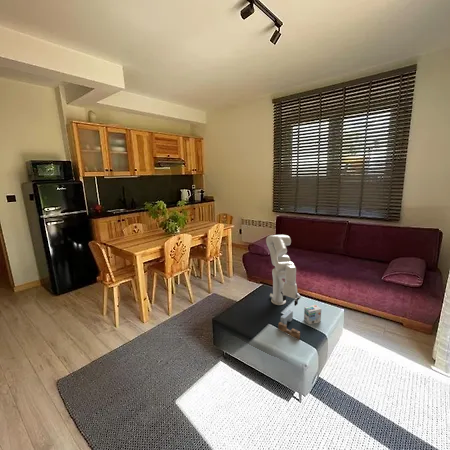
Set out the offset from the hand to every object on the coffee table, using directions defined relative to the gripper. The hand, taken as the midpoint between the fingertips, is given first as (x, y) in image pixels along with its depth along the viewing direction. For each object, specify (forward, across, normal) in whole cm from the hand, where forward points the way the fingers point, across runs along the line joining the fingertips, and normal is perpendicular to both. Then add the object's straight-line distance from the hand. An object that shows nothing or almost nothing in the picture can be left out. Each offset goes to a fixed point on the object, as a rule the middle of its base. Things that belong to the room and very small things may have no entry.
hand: (290, 302), depth 179 cm
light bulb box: (+15, +12, +11) cm, 23 cm away
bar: (+15, 0, -4) cm, 15 cm away
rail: (+15, +8, -14) cm, 22 cm away
